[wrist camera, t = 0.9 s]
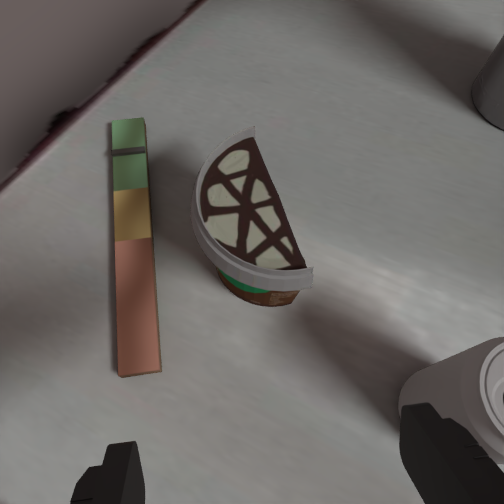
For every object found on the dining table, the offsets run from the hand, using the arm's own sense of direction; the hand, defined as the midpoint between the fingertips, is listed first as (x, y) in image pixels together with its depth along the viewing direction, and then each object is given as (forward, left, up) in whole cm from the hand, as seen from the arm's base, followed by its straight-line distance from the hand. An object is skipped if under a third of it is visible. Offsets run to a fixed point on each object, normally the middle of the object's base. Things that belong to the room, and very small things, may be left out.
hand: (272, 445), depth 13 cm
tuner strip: (+8, -18, -20) cm, 28 cm away
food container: (-1, -14, -20) cm, 25 cm away
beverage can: (-14, 0, -20) cm, 24 cm away
